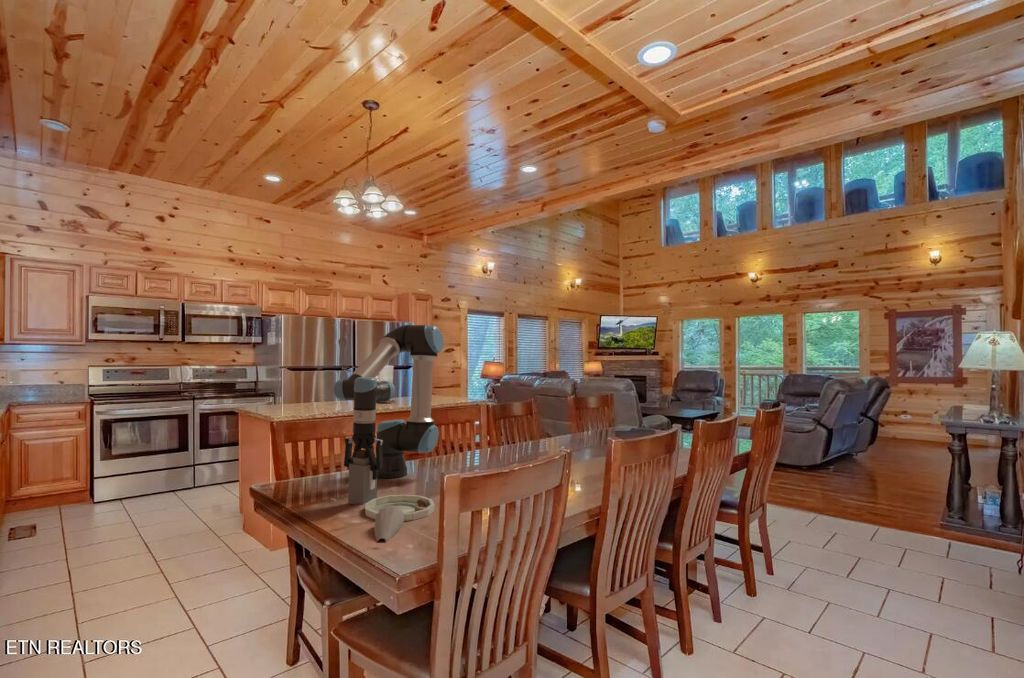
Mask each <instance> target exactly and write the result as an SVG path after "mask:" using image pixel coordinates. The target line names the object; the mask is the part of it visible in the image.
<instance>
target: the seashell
mask: <svg viewBox="0 0 1024 678" xmlns="http://www.w3.org/2000/svg"><path fill="white" fill-rule="evenodd" d="M404 522H405V521H404V513H403V511H402V510H401V509H400V508H399V507H397V506H393V505H390V506H387V507H384V508H383V509H381V510H380V511H379V513H378V514H377V517H376V520H375V519H374V530H373V531H374V536H375V540H376V543H377V544H378V543H379V540H384V542H385V543H388V541H390V540H391V539H393V537H394V536H395V535H396V534H397V533H398V532H399V530H400V529H401V526H402V525H403V523H404Z"/></svg>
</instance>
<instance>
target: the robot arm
mask: <svg viewBox="0 0 1024 678" xmlns="http://www.w3.org/2000/svg"><path fill="white" fill-rule="evenodd" d="M442 333H443V332H441V330H440V328H439V327H438V326H436V325H431V324H430V325H429V324H422V325H421V324H418V325H417V324H415V325H414V324H413V325H410V324H404V325H401V326H398V327H396V328H394V329H392V330H390V331H389V332H388V333H386V334H385V335H384V336H383V337H382V338H381V339H380V340H379V342H378V346H377V347H375V348H374V350H373V351H372V352H371V353H370V354H369V355H368V356H367V358H366V359H365V360H364V361H363V362H362V363H361V364H360V365H358V367H357V368H356V369H355V370H354V371H353V372H352V373H351V375H349V376H348V377H347V379H345V378H344V379H338V380H337V381H336V382H335V383H334V385H333V386H334V387H333V393H334V396H335V398H336V399H338V400H343V401H353V417H352V418H353V419H352V420H353V421H354V422H353V425H352V432H353V434H352V437H346V438H345V439H344V442H345V443H344V444H345V451H344V459H343V460H344V461H343V467H346V468H348V469H349V464H351V463H354V462H353V459H352V457H357V451H358V450H362V449H366V452H367V453H368V457H369V461H370V464H371V468H372V470H371V471H370V480H369V490H372V489H374V488H375V480H376V479H377V480H378V479H379V478H380V479H395V478H401V477H405V476H406V475H407V476H408V466H407V463H406V459H405V452H409V453H410V452H411V453H419V454H429V453H431V452H432V451H433V450H434V449H435V448H436V446H437V443H438V441H439V435H440V432H439V427H438V426H437V425H435V419H433V418H432V417H431V416H432V397H433V381H434V379H433V378H434V377H433V376H434V362H435V360H436V359H437V358H438V354H440V353H441V352H442V351H443V348H444V337H443V334H442ZM404 352H405V353H406V352H407V353H409V356H410V357H411V359H412V360H413V362H412V376H411V377H412V378H411V399H410V415H409V417H408V418H406V421H405V419H391V420H385V421H380V422H378V424H377V423H376V422H375V421H376V417H377V403H382V402H383V403H385V402H388V401H391V400H392V399H393V398H394V397H395V395H396V387H395V385H394V383H392V381H389V380H382V381H380V380H379V381H377V379H376V377H377V376H378V375H379V373H380V372H381V371H382V370H383V369H384V368H385V367H386V366H387V364H388V363H389V362H390V361H391V360H392V359H393V358H395V357H397V356H398V355H399V354H400V353H404ZM376 425H377V426H376ZM353 443H354V448H353ZM374 445H375V447H374ZM374 449H375V451H374Z"/></svg>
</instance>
